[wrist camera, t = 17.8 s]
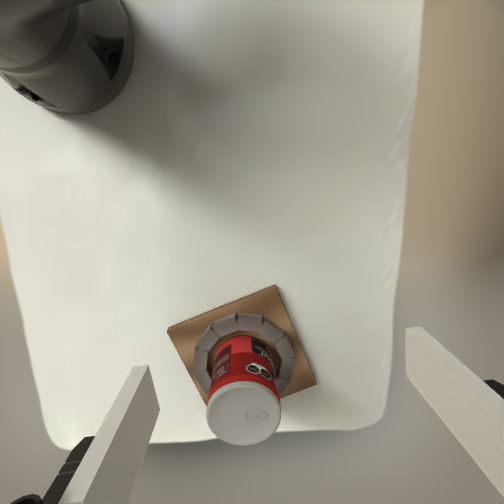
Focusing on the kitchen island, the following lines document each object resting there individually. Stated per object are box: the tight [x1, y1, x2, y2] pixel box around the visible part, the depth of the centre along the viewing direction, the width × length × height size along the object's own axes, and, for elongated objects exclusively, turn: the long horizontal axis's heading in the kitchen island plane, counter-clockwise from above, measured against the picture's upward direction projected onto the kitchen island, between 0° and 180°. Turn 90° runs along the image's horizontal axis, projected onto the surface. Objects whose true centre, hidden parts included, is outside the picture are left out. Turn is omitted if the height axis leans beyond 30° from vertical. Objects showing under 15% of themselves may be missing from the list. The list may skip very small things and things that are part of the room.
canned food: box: [206, 335, 281, 446], centre depth 38 cm, size 8×8×11 cm
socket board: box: [167, 285, 317, 406], centre depth 43 cm, size 16×16×3 cm
